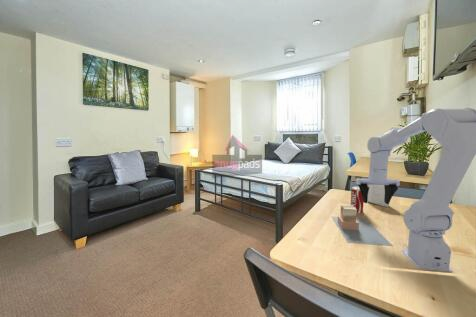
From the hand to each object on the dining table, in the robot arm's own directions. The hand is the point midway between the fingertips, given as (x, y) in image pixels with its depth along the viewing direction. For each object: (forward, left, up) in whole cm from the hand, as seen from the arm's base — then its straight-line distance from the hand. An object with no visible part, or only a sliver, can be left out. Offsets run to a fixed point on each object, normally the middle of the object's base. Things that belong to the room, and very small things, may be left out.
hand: (375, 202), depth 81 cm
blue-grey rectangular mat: (-3, +7, -10) cm, 13 cm away
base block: (-1, +10, -10) cm, 14 cm away
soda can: (+16, +1, -11) cm, 19 cm away
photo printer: (+30, -14, -11) cm, 35 cm away
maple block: (-1, +10, -7) cm, 12 cm away
